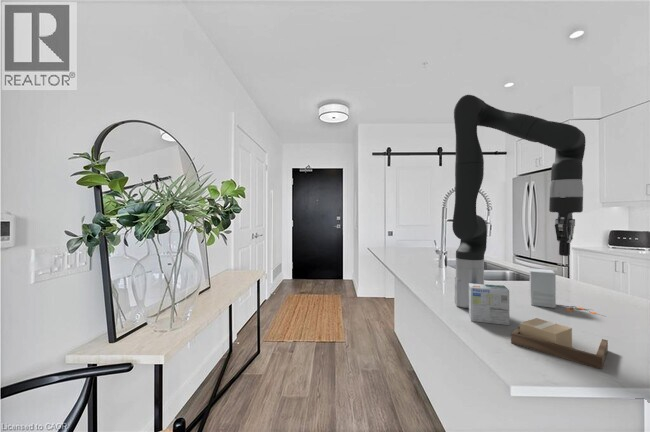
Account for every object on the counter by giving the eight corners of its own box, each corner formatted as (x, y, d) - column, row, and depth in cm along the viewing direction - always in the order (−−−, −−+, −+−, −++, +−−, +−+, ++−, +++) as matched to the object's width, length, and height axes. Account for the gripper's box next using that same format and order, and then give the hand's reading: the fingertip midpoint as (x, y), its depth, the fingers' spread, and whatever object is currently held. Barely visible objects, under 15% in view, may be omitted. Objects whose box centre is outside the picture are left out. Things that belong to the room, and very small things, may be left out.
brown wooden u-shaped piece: (525, 329, 83) (525, 321, 83) (607, 350, 71) (607, 340, 71) (511, 343, 75) (511, 333, 75) (601, 369, 62) (601, 357, 62)
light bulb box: (504, 318, 93) (504, 284, 93) (510, 326, 86) (510, 289, 86) (467, 314, 96) (467, 282, 96) (470, 321, 90) (470, 287, 90)
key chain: (556, 310, 102) (556, 307, 102) (557, 305, 108) (557, 302, 108) (607, 318, 94) (607, 315, 94) (604, 312, 100) (604, 310, 100)
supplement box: (553, 303, 109) (553, 269, 109) (555, 308, 102) (556, 273, 102) (529, 300, 113) (529, 267, 113) (530, 305, 106) (530, 270, 106)
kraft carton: (536, 336, 80) (536, 317, 80) (571, 348, 73) (571, 327, 73) (519, 342, 76) (519, 322, 76) (555, 355, 69) (555, 333, 69)
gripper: (555, 197, 91) (553, 252, 92) (544, 195, 83) (542, 256, 83) (586, 196, 86) (585, 255, 86) (578, 194, 77) (576, 259, 77)
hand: (564, 255), depth 85 cm, fingers closed
